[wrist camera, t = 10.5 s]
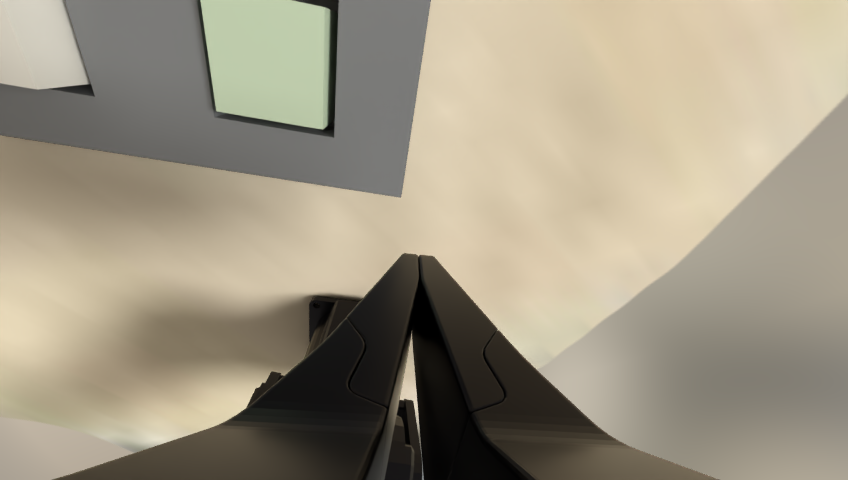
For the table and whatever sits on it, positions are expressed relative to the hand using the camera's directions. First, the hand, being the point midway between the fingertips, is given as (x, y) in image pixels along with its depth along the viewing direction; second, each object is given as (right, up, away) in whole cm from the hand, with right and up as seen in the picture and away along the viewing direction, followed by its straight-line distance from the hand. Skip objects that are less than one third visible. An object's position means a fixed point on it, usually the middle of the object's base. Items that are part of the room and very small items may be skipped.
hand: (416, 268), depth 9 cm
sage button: (-6, +9, +6) cm, 12 cm away
